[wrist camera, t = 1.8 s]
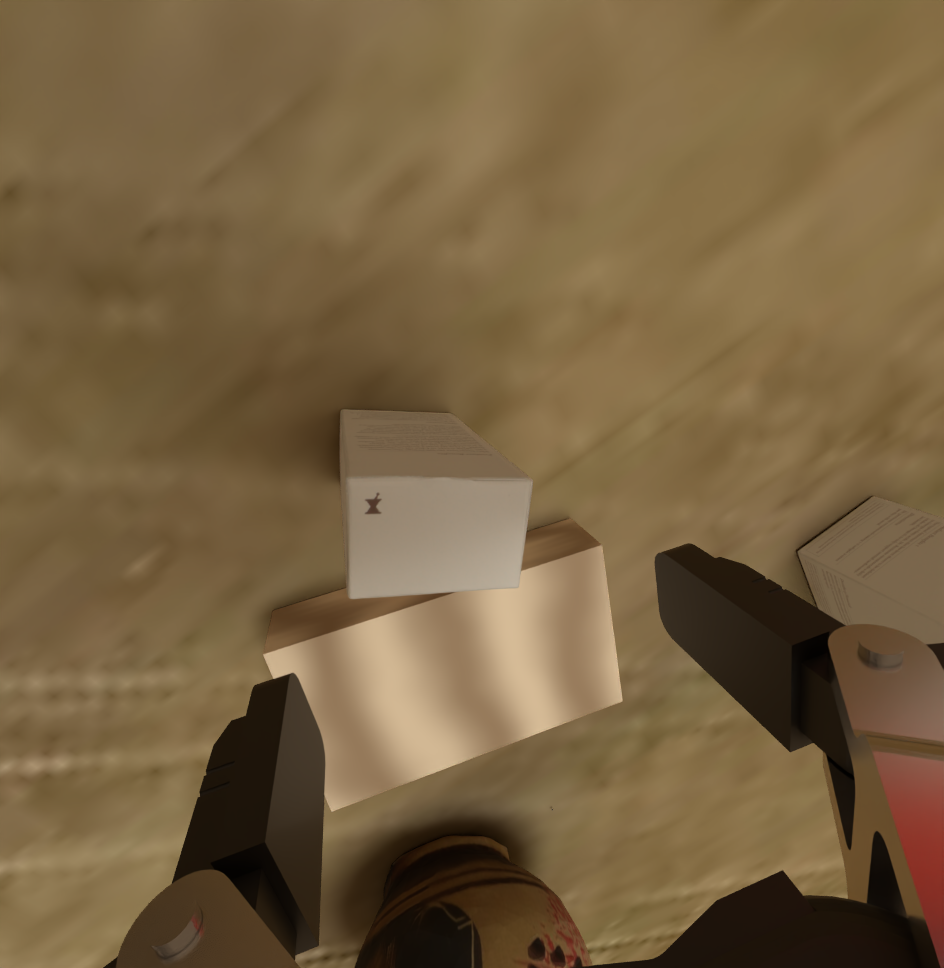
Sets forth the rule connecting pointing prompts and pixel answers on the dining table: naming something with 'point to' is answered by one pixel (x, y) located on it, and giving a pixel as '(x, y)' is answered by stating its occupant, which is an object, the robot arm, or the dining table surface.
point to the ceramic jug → (469, 913)
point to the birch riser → (451, 666)
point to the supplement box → (881, 569)
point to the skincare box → (427, 506)
